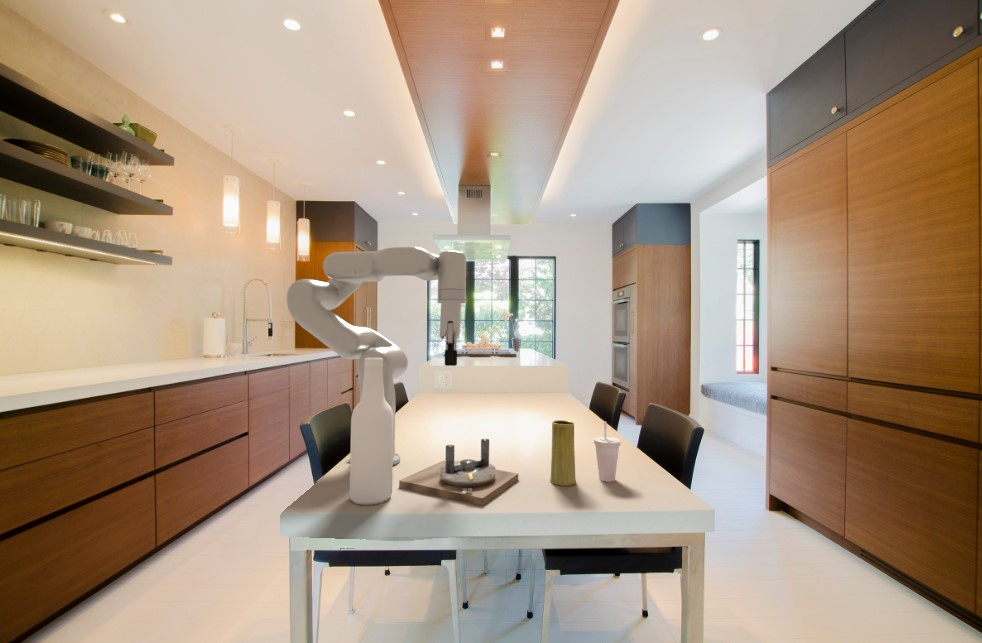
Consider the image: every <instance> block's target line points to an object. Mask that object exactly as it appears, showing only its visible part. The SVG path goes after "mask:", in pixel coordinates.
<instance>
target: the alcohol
mask: <svg viewBox="0 0 982 643" xmlns="http://www.w3.org/2000/svg"><path fill="white" fill-rule="evenodd" d="M364 361H365V364H364V366H365V370H364V380H363V390H362V398H361V400H360V399H359V402H358V403H357V405H356V406H355V407H354V408H353V411H352V414H351V420H350V449H351V450H350V454H349V456H350V457H349V458H350V459H349V460H350V461H349V465H350V466H349V499H350V500H351V501H352V502H353V504H355V503H356V505H358V506H359V505H360V506H374V505H373V504H375V505H378V503H379V504H382V503H384V501H385V502H386V501H388V500H389V499H390V497H391V496H392V494H393V468H394V467H393V466H394V465H393V412H392V408H391V407H390V405H389V404H388V403H387V402H386V400H385V397H384V385H383V369H382V366H383V363H382V361H383V359H382V358H365V359H364ZM381 502H382V503H381Z"/></svg>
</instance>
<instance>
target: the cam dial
mask: <svg viewBox="0 0 982 643" xmlns="http://www.w3.org/2000/svg"><path fill="white" fill-rule="evenodd" d="M445 461H446V464H445V465H443V466H442V467H441V468H440V480H441V481H442V482H444V483H446V484H448V485H452V486H459V487H475V486H482V485H486V484H489V483H491V482H493V481H494V480H495V470H496V467H495V465H494V464H493V463H490V439H489V438H481V439H480V460H475V459H468V458H467V459H461V460H455V445H454V444H446V445H445Z"/></svg>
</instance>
